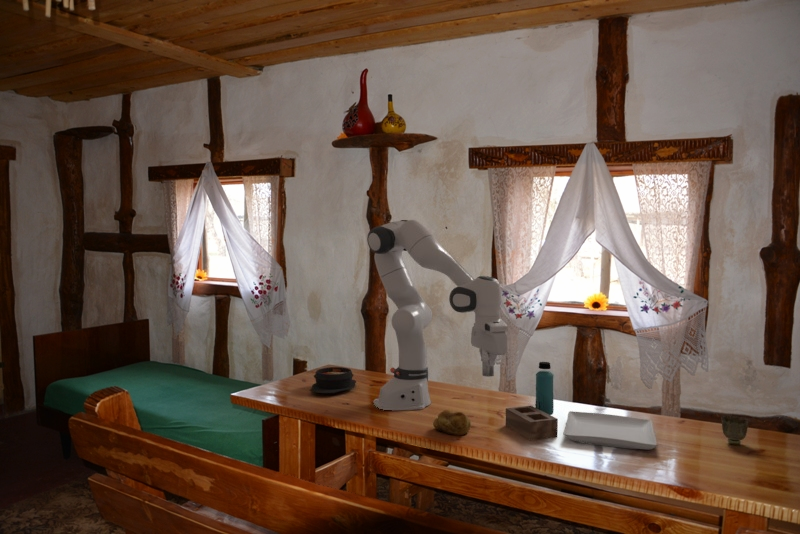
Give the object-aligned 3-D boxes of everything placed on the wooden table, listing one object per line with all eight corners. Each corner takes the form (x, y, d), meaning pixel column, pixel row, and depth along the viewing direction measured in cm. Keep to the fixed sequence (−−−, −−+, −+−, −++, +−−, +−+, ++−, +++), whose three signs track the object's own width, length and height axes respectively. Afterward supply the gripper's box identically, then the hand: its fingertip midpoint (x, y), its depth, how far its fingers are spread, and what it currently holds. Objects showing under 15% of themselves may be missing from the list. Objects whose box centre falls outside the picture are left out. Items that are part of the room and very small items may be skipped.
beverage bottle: (556, 416, 207) (557, 362, 206) (547, 421, 202) (548, 364, 202) (540, 413, 212) (541, 359, 211) (531, 417, 207) (532, 362, 206)
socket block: (530, 440, 182) (530, 422, 182) (505, 425, 197) (505, 408, 197) (557, 437, 186) (557, 418, 185) (530, 422, 201) (531, 405, 200)
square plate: (657, 456, 170) (658, 443, 170) (562, 445, 179) (562, 433, 179) (651, 428, 195) (652, 417, 195) (568, 420, 205) (568, 409, 204)
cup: (747, 449, 174) (748, 423, 174) (720, 445, 178) (720, 419, 178) (748, 442, 181) (748, 417, 180) (721, 438, 185) (721, 413, 184)
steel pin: (485, 376, 195) (485, 347, 195) (480, 374, 199) (480, 345, 199) (496, 376, 197) (496, 347, 196) (490, 373, 200) (490, 345, 200)
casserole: (329, 381, 260) (329, 363, 260) (366, 385, 253) (366, 366, 253) (299, 395, 237) (299, 374, 237) (339, 399, 230) (339, 379, 230)
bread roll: (427, 431, 191) (428, 407, 191) (443, 424, 199) (443, 401, 199) (461, 439, 184) (461, 414, 183) (476, 431, 192) (476, 407, 191)
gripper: (466, 320, 206) (466, 358, 206) (493, 328, 186) (493, 370, 187) (482, 319, 208) (482, 357, 208) (510, 327, 188) (510, 368, 189)
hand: (487, 363), depth 198 cm, fingers closed on steel pin, 4 cm apart
